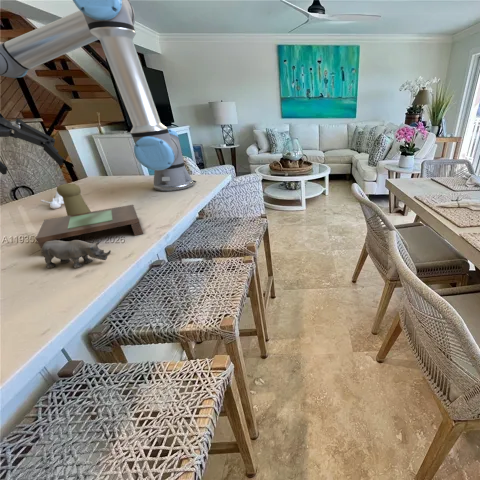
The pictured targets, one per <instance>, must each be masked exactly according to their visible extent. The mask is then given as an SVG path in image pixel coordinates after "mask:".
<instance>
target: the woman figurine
mask: <svg viewBox="0 0 480 480" xmlns="http://www.w3.org/2000/svg"><path fill="white" fill-rule="evenodd" d="M40 202H41V203H46V204H48V205H49V208H51V209H52V210H56V209H60V208H62V205H64V201H63V197H62V196H60V195H59V194H58V192H57V189H56V191H55V194H54V197H52V200H51V201H47V200H44V199H40Z"/></svg>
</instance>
